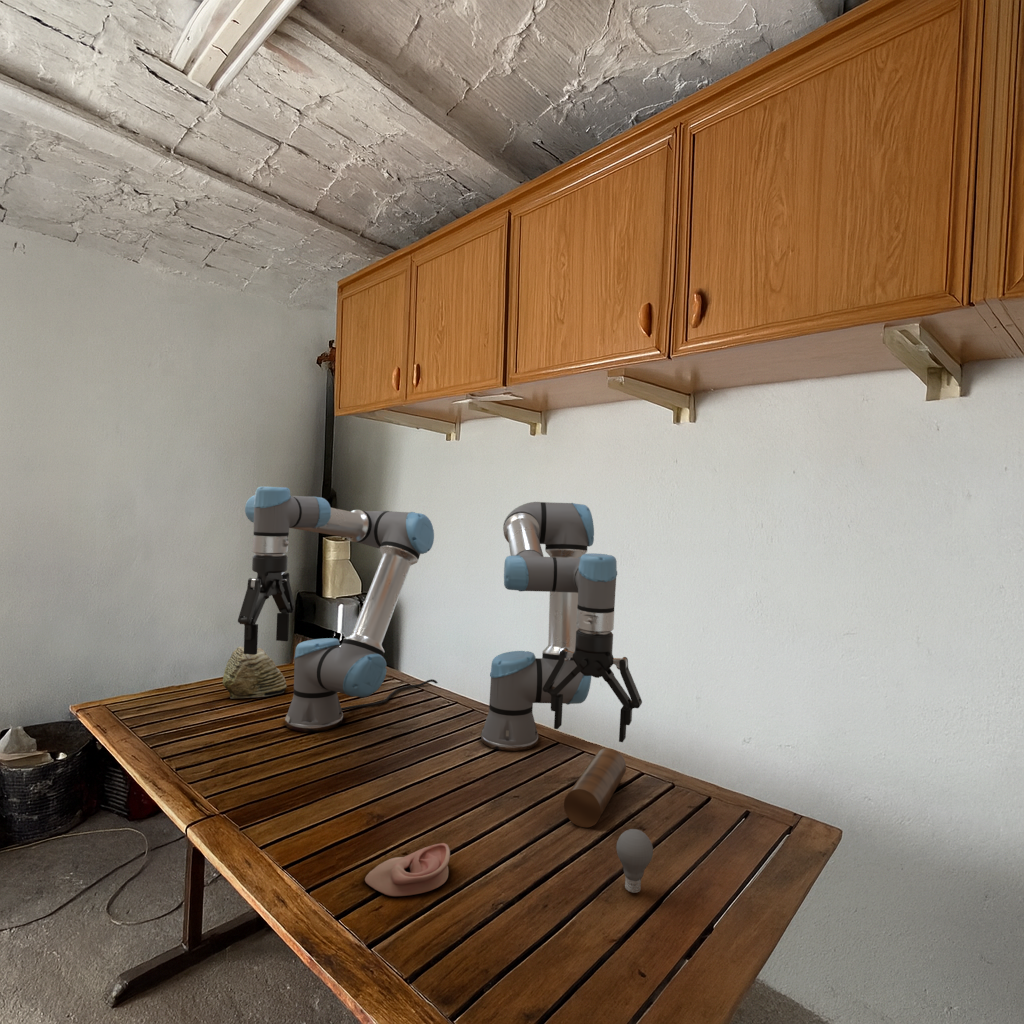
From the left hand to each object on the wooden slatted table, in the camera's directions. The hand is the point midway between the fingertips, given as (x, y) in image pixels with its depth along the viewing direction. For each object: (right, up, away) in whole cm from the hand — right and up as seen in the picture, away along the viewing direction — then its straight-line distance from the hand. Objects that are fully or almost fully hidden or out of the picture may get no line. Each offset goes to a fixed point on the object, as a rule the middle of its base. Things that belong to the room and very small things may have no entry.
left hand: (267, 647), depth 145 cm
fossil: (-25, -26, +53) cm, 64 cm away
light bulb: (+76, -33, -39) cm, 91 cm away
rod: (+74, -32, -8) cm, 81 cm away
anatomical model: (+38, -31, -38) cm, 62 cm away
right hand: (+72, -14, -15) cm, 75 cm away
